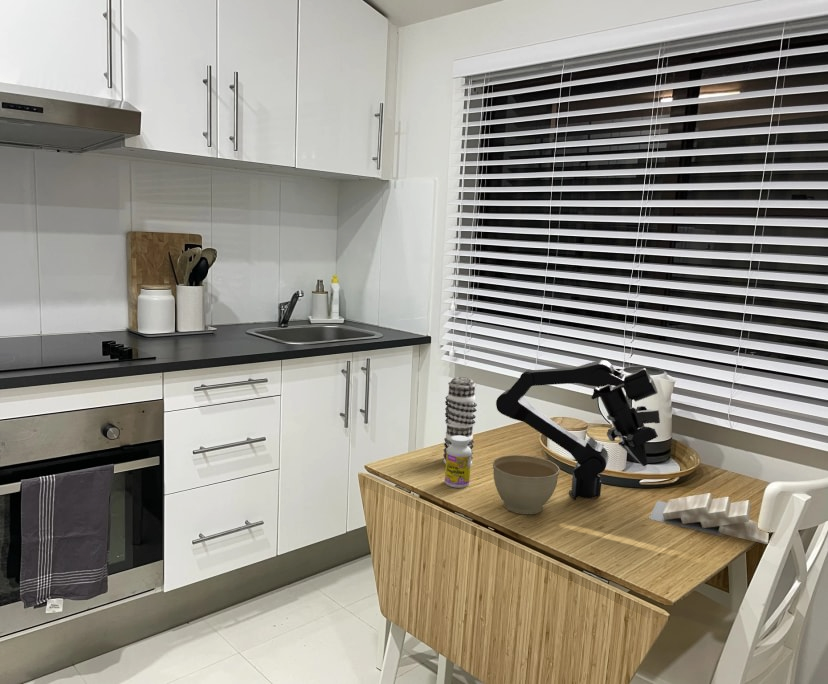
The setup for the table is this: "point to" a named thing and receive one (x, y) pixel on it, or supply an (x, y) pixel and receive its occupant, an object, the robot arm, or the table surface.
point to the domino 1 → (687, 506)
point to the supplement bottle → (458, 462)
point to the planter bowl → (525, 482)
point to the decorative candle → (460, 411)
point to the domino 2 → (711, 511)
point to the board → (658, 516)
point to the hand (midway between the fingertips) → (645, 465)
